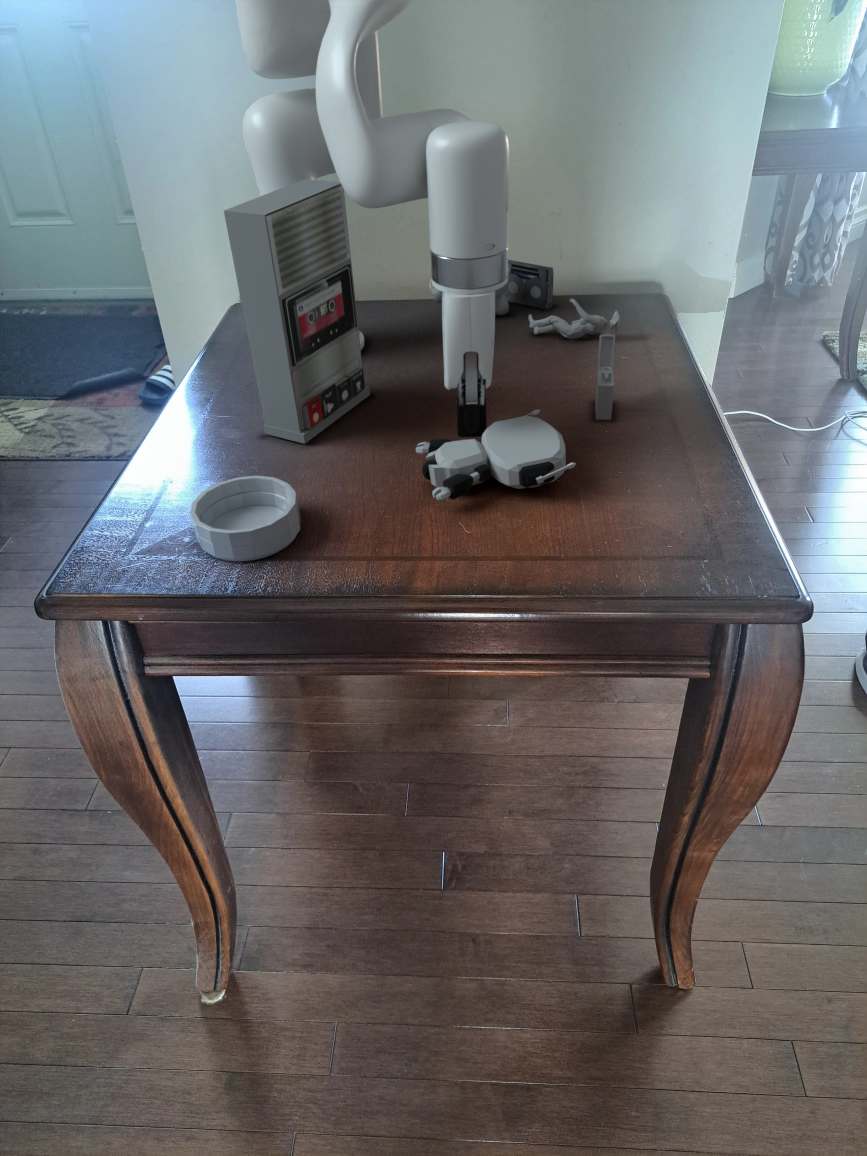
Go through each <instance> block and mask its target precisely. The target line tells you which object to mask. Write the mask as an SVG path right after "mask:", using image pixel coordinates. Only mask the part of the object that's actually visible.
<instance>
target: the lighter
mask: <svg viewBox="0 0 867 1156" xmlns="http://www.w3.org/2000/svg"><path fill="white" fill-rule="evenodd" d="M598 339H599V341H598V355H597V357H598V358H597V359H598V360H597V370H598V371H597V380H596V392H595V419H596V420H598V421H599V420H600V421H602V420H603V421H610V420H612V412H613V403H614V402H613V400H614V392H615V391H614V390H615V378H614V363H615V361H614V360H615V345H616V334H615V333H600V334H599V338H598Z"/></svg>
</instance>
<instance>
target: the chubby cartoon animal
mask: <svg viewBox="0 0 867 1156" xmlns="http://www.w3.org/2000/svg"><path fill="white" fill-rule="evenodd" d="M509 273H510V271H509V269H508V281H507V283H506V284H505V286H503V287H502V288H500V289H498V290H495V316H505V315H506V314H508V313H509V312H510V305H509V304H510V303H509V302H508V301H507V299H506V296H505V292H506V290H507V288H508V284H509ZM428 288H429V290H430V292H431V298H432V300H433V301H434V302H435V303H437V304H442V291H440V290H438V289H436V288H435V287H433V285H432V278H430V280H429V283H428Z"/></svg>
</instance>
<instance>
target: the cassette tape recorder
mask: <svg viewBox="0 0 867 1156" xmlns="http://www.w3.org/2000/svg"><path fill="white" fill-rule="evenodd" d="M345 198H346V197H345V190H344V188H343V186H342V184H341V183H340V181H339V182H338V181H327V180H318V179H317V180H306V179H304V180H302V181H299V182H296V183H294V184H291V185H289V186H286V187H283V188H281V189H278V190H276V191H273V192H270V193H268V194H265V195H263V196H260V195H259V196H257V197H255V198H253V199H250V200H247V201H245V202H242V203H240V204H237V205H234V206H232V207H229V208H227V209H224V210H223V214H224V219H225V224H226V231H227V235H228V241H229V247H230V251H231V256H232V257H231V258H232V260H233V267H234V271H235V277H236V283H237V289H238V293H239V298H240V305H241V309H242V313H243V314H242V315H243V319H244V324H245V330H246V335H247V341H248V345H249V351H250V356H251V361H252V366H253V371H254V376H255V377H254V378H255V381H256V388H257V393H258V397H259V402H260V407H261V414H262V418H263V423H264V424H262V426H263V427H262V428H263V432H264V435H268V436H272V437H276V438H280V439H284V440H289V441H293V442H296V443H300V444H304V445H305V444H307V443H308V442H310V440H312V439H313V438H315V437H316V436H317V435H319V434H320V433H321V432H323V431H324V430H325V429H326V428H328V427H329V426H330V425H332V424H333V423H335V422H336V421H337V420H338V419H340V418H341V417H343V416H344V415H346V413H349V412H350V411H351V410H352V409H353V408H354V407H356V406H357V405H359V404H360V403H362V402H363V401H364V400H365V399H367V398H368V397H369V396H371V392H370V390H371V389H370V386H369V385H366V384H365V374H364V368H363V359H362V350H361V349H360V339H359V331H360V330H359V321H358V320H359V319H358V312H357V303H356V301H357V300H356V292H355V284H354V272H353V264H352V263H353V262H352V254H351V245H350V237H349V235H350V234H349V225H348V217H347V208H346V199H345Z"/></svg>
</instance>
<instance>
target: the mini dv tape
mask: <svg viewBox="0 0 867 1156" xmlns="http://www.w3.org/2000/svg"><path fill="white" fill-rule="evenodd" d="M508 269H509V271H510V273H509V284H508V288H507V290H506V292H505V296H506V299H507V301H508V303H513V304H517V305H522V306H526V307H530V308H536V309H541V310H545V311H546V310H548V309H551V308H552V307H553V302H554V301H553V300H554V299H553V298H554V274H555V273H554V272H555V271H554V267H553V266H545V265H540V264H534V263H528V262H524V261H519V260H513V259H508Z"/></svg>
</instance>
